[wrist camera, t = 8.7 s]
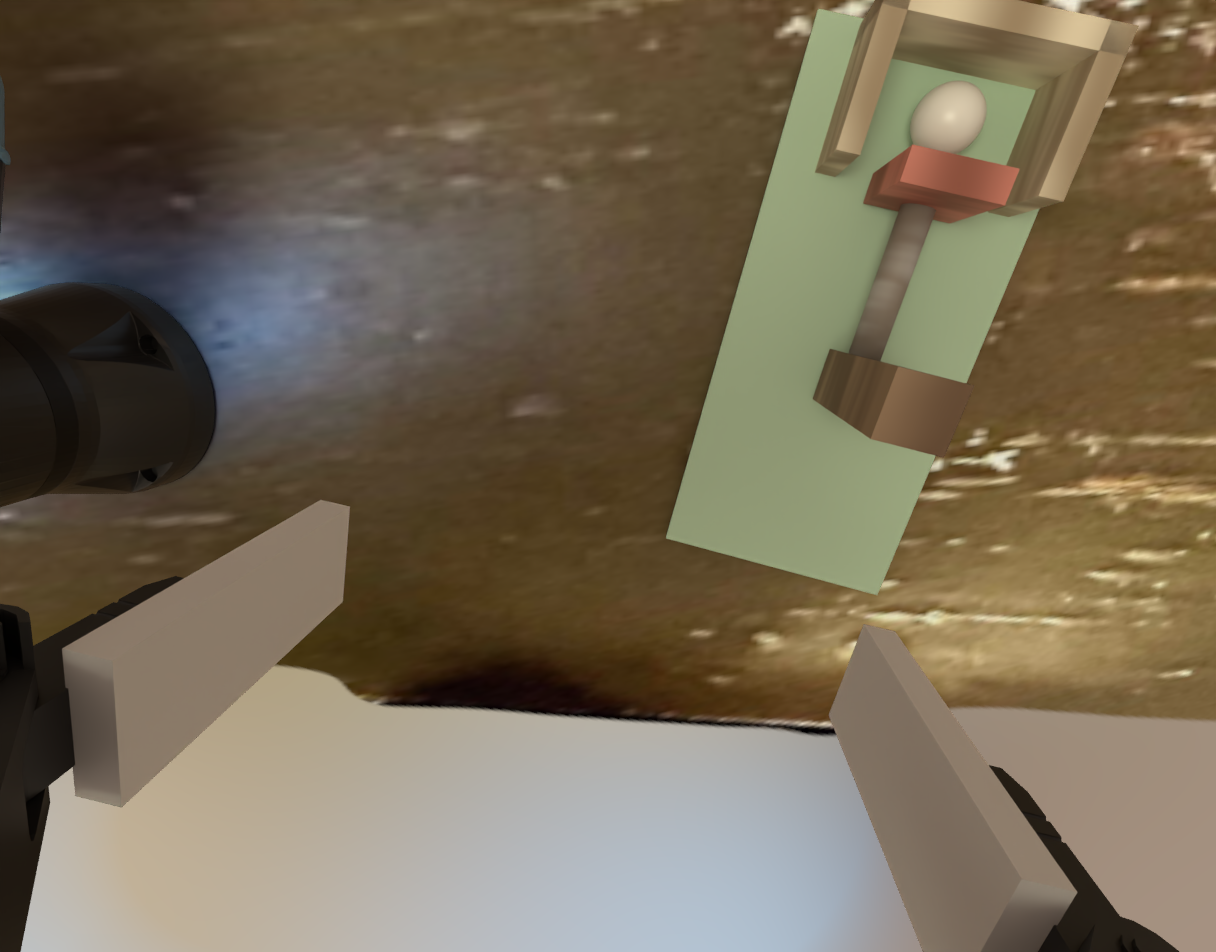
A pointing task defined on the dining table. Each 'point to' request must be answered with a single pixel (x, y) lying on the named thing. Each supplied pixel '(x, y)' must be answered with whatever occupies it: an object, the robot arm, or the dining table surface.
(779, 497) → the mat
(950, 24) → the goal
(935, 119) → the ball
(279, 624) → the robot arm
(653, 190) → the dining table surface
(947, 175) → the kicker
